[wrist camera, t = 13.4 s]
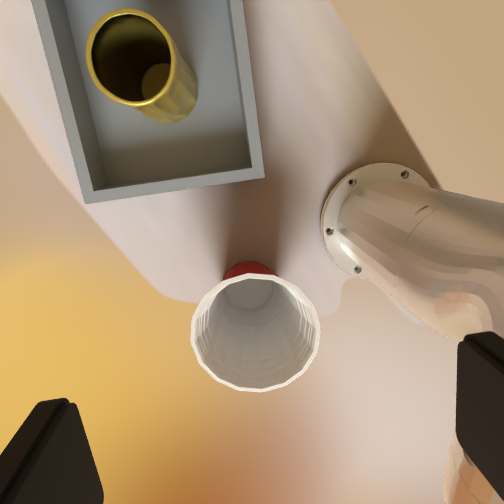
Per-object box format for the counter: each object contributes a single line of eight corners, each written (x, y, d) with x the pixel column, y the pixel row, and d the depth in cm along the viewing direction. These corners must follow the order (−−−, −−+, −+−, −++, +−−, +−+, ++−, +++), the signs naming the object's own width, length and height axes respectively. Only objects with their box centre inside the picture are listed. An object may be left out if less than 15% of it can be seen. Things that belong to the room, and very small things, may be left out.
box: (232, -30, 34) (234, -61, 29) (259, 172, 39) (264, 177, 34) (53, -7, 34) (22, -34, 29) (103, 195, 39) (85, 204, 34)
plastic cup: (211, 226, 41) (207, 260, 29) (307, 251, 42) (339, 293, 31) (187, 317, 43) (175, 381, 32) (278, 337, 45) (297, 405, 33)
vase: (190, 47, 35) (169, -12, 21) (204, 117, 37) (194, 104, 23) (124, 60, 35) (61, 8, 21) (142, 129, 37) (94, 123, 23)
